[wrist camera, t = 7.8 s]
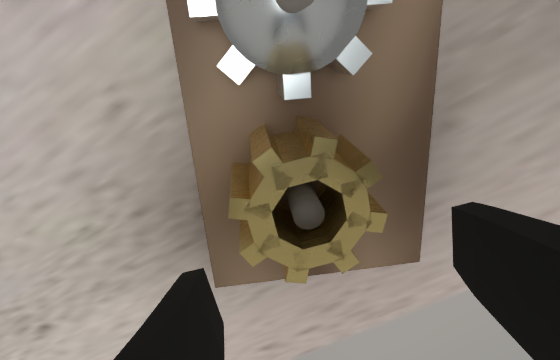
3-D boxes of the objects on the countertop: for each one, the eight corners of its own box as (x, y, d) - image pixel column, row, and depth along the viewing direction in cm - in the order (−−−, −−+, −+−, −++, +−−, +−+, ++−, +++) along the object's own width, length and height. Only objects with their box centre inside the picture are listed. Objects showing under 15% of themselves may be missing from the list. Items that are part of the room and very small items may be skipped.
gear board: (437, -90, 14) (523, -150, 10) (411, 251, 20) (457, 306, 15) (157, -76, 13) (118, -135, 9) (216, 275, 19) (209, 340, 15)
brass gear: (361, 214, 17) (393, 260, 14) (251, 243, 17) (254, 296, 13) (342, 103, 15) (375, 120, 11) (217, 135, 15) (209, 163, 11)
